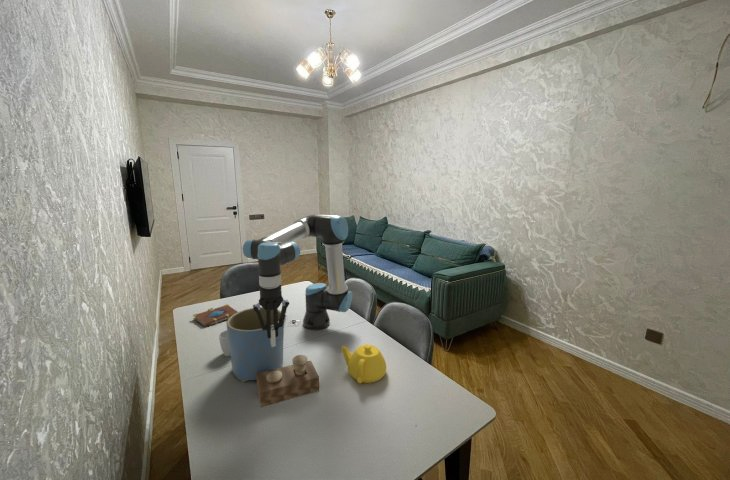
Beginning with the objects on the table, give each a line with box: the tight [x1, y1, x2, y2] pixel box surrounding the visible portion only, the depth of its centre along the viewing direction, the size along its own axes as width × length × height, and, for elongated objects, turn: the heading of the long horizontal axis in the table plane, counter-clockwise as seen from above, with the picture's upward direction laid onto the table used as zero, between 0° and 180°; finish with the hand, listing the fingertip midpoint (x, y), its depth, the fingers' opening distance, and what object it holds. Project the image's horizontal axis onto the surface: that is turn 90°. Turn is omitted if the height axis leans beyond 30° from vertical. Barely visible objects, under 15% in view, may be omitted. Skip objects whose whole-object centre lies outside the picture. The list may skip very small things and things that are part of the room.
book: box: [192, 303, 238, 328], centre depth 181 cm, size 16×25×5 cm, turn 140°
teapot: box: [341, 344, 387, 384], centre depth 130 cm, size 20×19×13 cm
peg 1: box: [266, 371, 282, 384], centre depth 118 cm, size 6×6×7 cm
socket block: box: [256, 360, 320, 408], centre depth 120 cm, size 22×12×6 cm, turn 115°
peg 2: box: [292, 354, 308, 377], centre depth 121 cm, size 6×6×7 cm
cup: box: [218, 329, 231, 357], centre depth 143 cm, size 8×8×10 cm
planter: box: [226, 306, 285, 383], centre depth 131 cm, size 23×23×24 cm
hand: (273, 344), depth 114 cm, fingers closed
